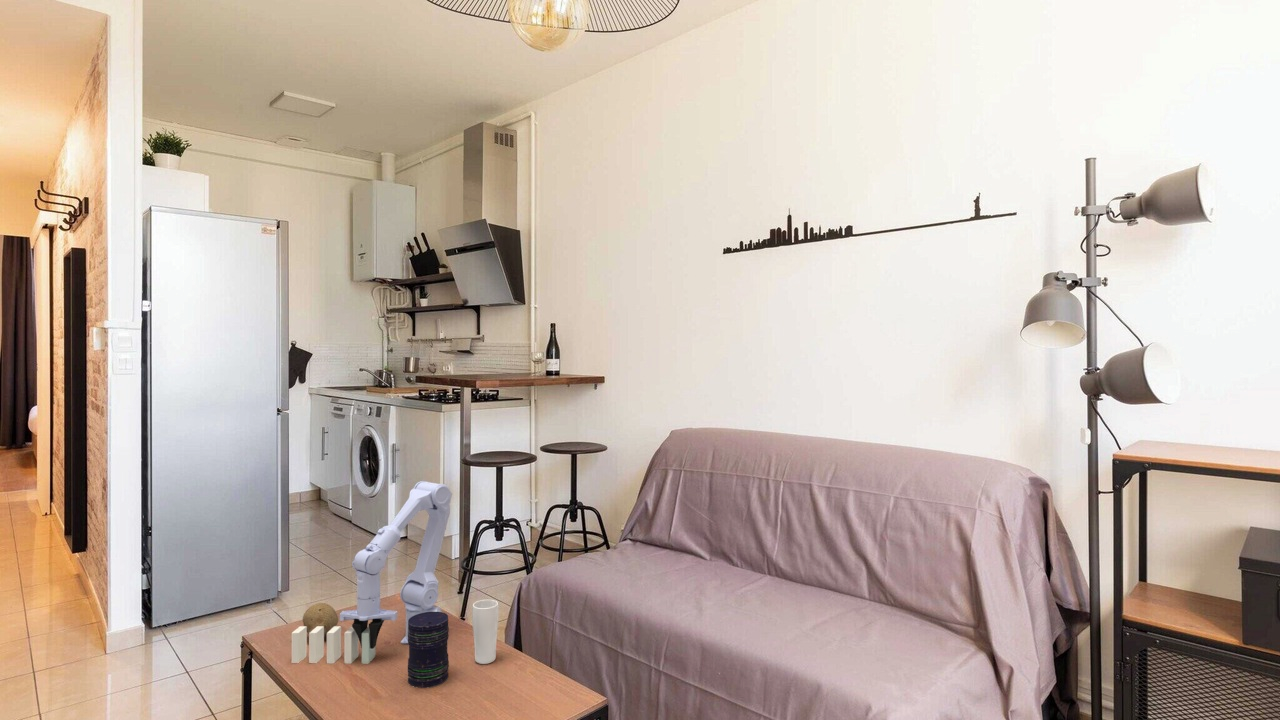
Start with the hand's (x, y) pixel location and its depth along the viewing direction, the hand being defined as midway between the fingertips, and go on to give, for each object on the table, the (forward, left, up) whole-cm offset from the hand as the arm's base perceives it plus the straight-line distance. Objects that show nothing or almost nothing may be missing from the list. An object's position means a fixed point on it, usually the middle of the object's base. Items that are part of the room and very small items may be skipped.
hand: (368, 647), depth 178 cm
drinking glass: (-31, 0, -4) cm, 31 cm away
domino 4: (+5, 0, -3) cm, 6 cm away
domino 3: (+9, 0, -3) cm, 10 cm away
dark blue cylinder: (-19, +10, -4) cm, 22 cm away
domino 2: (+14, 0, -3) cm, 14 cm away
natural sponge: (+19, -14, -4) cm, 24 cm away
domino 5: (0, 0, -3) cm, 3 cm away
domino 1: (+18, 0, -3) cm, 19 cm away
